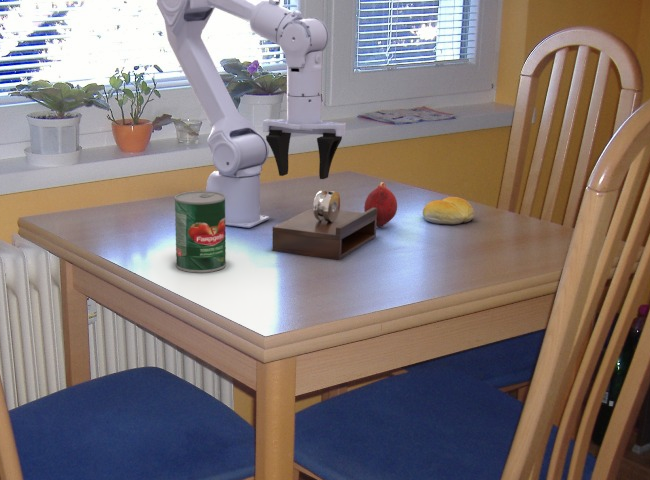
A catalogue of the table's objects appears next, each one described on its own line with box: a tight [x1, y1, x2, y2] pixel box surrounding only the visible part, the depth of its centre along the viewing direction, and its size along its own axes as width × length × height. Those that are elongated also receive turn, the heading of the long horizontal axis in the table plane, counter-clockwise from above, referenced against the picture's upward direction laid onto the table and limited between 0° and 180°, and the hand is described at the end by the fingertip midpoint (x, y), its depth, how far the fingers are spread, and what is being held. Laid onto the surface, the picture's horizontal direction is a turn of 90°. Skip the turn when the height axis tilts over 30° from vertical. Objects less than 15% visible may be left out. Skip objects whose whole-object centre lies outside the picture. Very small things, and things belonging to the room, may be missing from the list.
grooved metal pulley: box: [312, 189, 341, 222], centre depth 171 cm, size 5×3×5 cm, turn 151°
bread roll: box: [422, 196, 475, 225], centre depth 187 cm, size 8×9×4 cm
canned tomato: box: [174, 190, 227, 274], centre depth 160 cm, size 8×8×11 cm
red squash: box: [363, 181, 398, 228], centre depth 182 cm, size 6×6×8 cm
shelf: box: [271, 207, 377, 261], centre depth 172 cm, size 12×16×5 cm
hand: (303, 176), depth 176 cm, fingers open, 7 cm apart
